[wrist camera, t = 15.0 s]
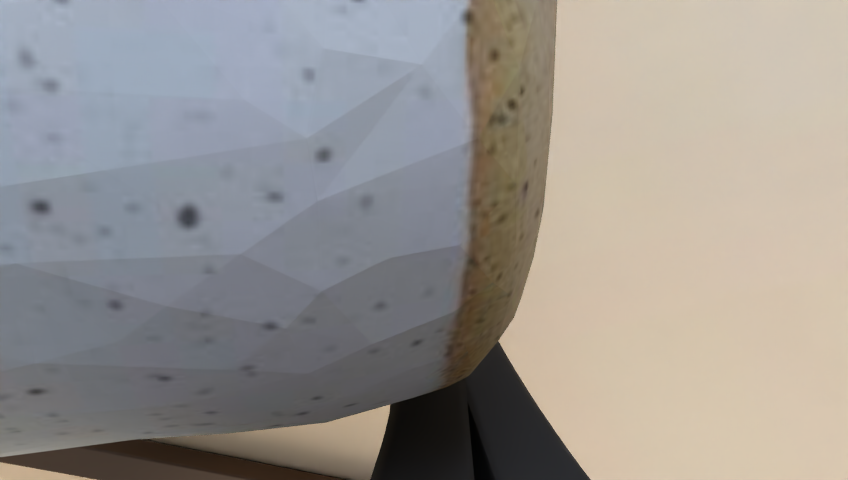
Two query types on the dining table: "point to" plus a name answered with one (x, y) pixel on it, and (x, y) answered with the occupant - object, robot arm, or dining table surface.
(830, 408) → the dining table surface
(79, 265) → the ceramic mug
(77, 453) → the corner guide
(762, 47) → the dining table surface
